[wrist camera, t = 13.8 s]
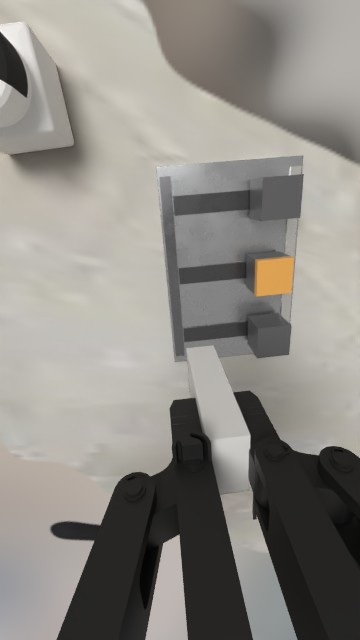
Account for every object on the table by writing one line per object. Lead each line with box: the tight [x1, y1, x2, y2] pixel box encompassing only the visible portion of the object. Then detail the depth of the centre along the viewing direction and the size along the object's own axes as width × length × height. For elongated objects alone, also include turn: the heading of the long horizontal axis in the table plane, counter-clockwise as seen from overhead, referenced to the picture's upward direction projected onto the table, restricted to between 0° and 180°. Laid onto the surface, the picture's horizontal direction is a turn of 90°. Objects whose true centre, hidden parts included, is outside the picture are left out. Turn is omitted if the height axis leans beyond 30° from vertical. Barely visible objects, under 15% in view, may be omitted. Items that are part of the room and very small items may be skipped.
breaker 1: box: [250, 174, 304, 221], centre depth 31 cm, size 4×4×4 cm
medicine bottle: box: [0, 22, 74, 155], centre depth 24 cm, size 7×7×12 cm
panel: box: [156, 156, 303, 362], centre depth 36 cm, size 16×24×2 cm, turn 4°
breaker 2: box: [247, 313, 291, 358], centre depth 37 cm, size 4×4×4 cm
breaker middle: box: [246, 251, 294, 296], centre depth 34 cm, size 4×4×4 cm
